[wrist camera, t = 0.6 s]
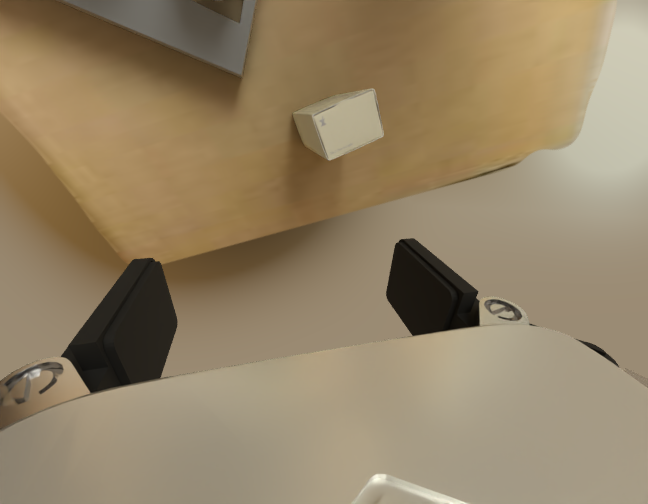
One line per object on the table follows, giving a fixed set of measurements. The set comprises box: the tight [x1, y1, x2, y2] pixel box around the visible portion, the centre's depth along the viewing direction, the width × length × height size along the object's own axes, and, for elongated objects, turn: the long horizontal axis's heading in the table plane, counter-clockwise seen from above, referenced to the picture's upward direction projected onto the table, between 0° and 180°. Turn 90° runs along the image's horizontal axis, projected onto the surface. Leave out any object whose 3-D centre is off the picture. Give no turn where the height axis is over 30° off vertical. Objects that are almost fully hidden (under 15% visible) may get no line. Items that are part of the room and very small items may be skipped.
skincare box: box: [292, 88, 384, 161], centre depth 29 cm, size 6×4×12 cm
